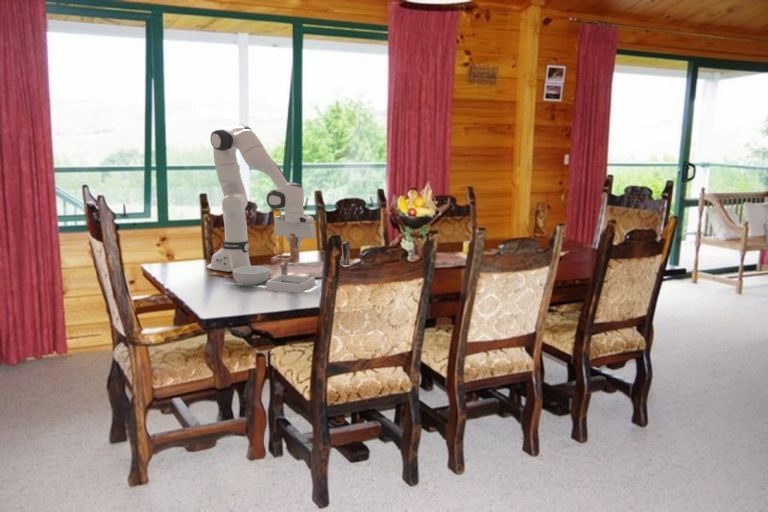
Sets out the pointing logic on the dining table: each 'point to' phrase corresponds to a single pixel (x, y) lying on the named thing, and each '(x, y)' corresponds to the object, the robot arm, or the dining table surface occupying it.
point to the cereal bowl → (251, 275)
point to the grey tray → (290, 287)
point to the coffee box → (345, 253)
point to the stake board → (284, 272)
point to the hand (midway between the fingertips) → (294, 246)
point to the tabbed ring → (293, 253)
